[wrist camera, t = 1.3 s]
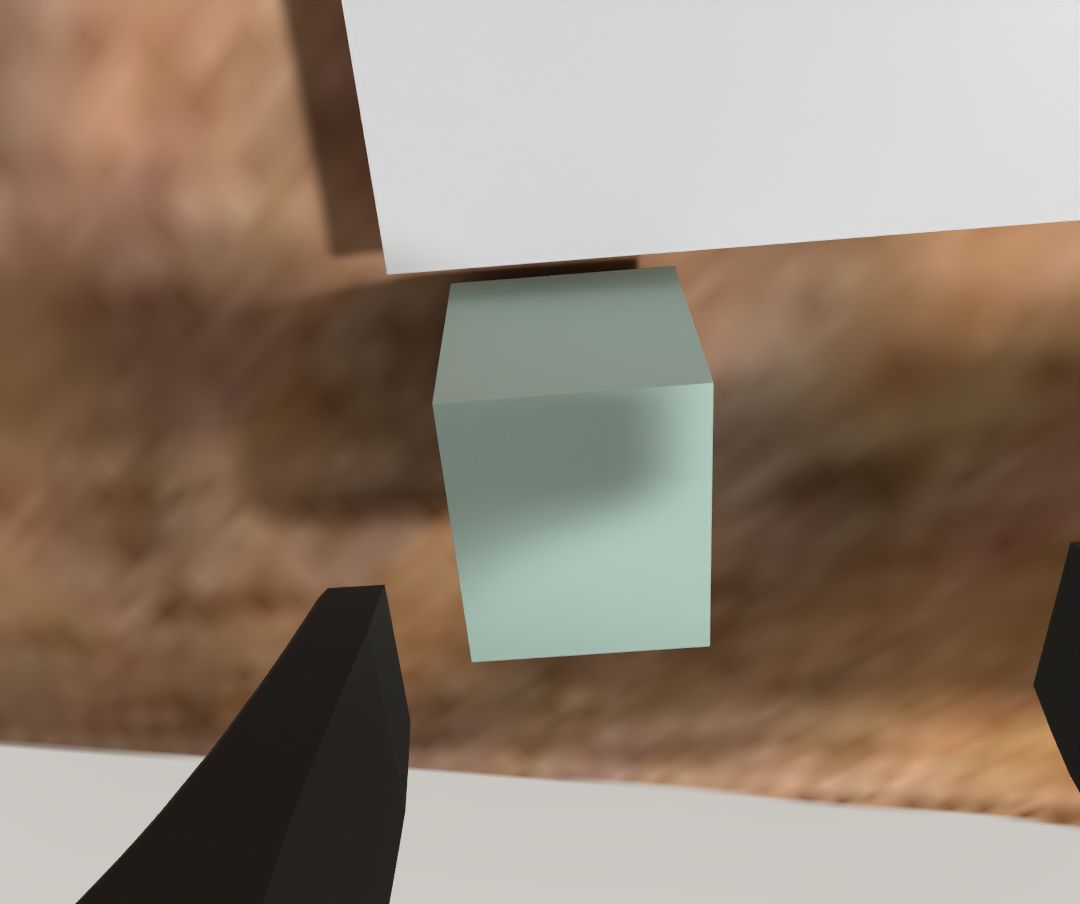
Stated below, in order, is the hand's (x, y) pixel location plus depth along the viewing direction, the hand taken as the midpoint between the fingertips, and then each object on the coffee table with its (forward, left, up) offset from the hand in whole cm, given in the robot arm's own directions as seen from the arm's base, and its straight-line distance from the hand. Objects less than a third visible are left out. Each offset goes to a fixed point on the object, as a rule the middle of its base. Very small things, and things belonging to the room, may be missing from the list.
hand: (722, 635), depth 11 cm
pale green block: (-2, +1, -10) cm, 10 cm away
